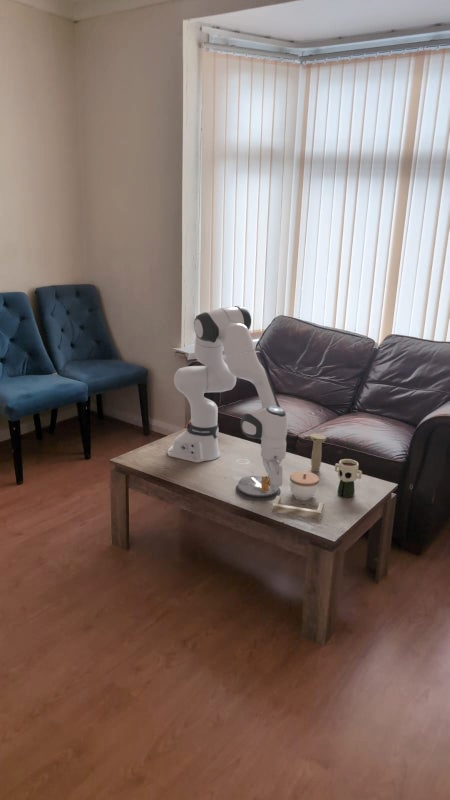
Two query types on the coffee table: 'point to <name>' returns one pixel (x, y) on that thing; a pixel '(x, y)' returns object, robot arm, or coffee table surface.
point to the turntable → (256, 487)
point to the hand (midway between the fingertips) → (271, 486)
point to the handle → (316, 451)
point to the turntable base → (257, 498)
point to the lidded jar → (304, 485)
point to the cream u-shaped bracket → (297, 510)
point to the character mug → (347, 476)
